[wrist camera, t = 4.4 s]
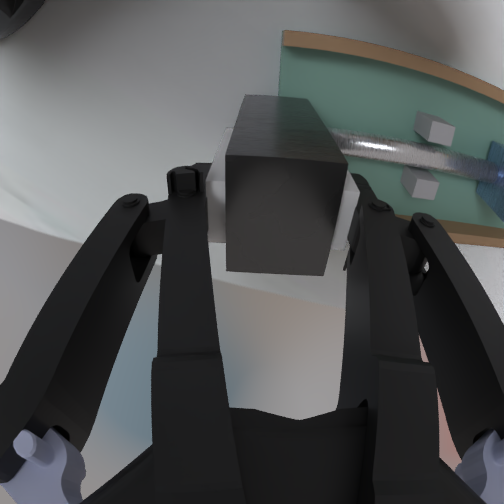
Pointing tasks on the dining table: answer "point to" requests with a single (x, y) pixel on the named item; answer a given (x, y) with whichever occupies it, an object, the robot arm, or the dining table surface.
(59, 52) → the dining table surface
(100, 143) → the dining table surface
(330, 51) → the lane
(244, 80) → the dining table surface
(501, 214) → the striker rod
